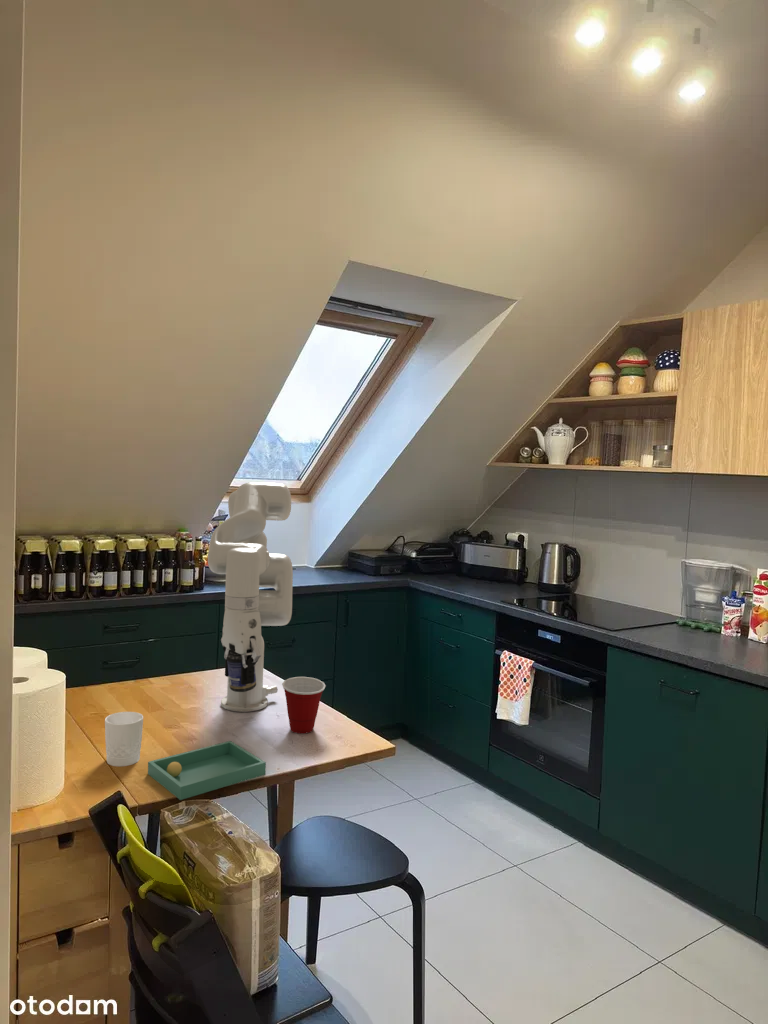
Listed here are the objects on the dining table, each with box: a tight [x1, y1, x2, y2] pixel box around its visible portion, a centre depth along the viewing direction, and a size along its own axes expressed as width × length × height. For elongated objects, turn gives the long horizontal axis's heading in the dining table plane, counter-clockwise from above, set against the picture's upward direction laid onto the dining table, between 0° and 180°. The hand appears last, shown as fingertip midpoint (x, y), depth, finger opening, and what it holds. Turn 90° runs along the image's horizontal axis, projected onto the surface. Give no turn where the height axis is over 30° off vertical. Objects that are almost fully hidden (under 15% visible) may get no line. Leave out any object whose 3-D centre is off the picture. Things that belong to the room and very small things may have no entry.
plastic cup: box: [281, 676, 326, 735], centre depth 183 cm, size 11×11×12 cm
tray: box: [147, 740, 267, 801], centre depth 154 cm, size 20×15×3 cm
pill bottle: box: [227, 643, 256, 692], centre depth 167 cm, size 6×6×11 cm
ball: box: [167, 762, 182, 777], centre depth 152 cm, size 3×3×3 cm
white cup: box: [104, 711, 144, 767], centre depth 159 cm, size 8×8×10 cm
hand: (239, 678), depth 167 cm, fingers closed on pill bottle, 6 cm apart
